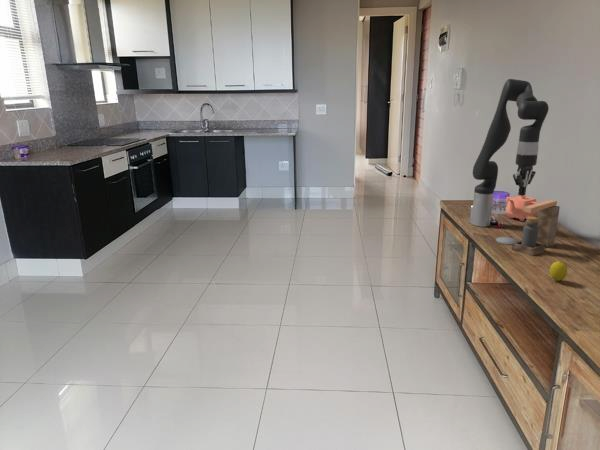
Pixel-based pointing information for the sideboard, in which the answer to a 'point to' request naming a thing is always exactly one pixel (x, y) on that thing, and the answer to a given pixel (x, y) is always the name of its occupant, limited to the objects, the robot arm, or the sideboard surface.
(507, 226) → the sideboard surface
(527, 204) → the teapot
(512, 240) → the mat
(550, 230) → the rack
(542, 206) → the bar
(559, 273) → the lemon
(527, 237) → the bottle
